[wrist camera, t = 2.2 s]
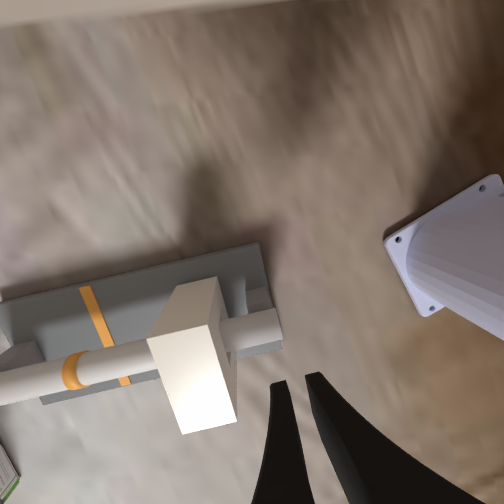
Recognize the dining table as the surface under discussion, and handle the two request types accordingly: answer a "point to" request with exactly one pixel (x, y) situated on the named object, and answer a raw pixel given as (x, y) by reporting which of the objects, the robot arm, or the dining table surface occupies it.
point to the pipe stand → (125, 325)
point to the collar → (196, 357)
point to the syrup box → (6, 476)
